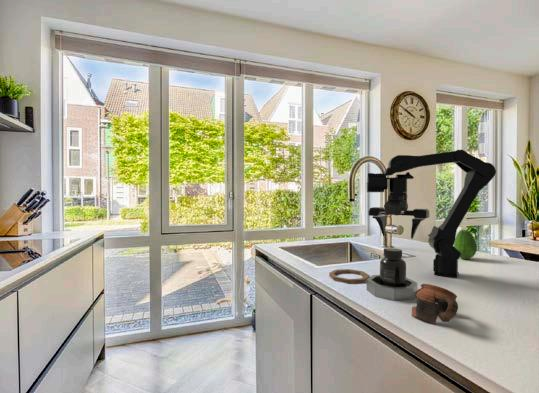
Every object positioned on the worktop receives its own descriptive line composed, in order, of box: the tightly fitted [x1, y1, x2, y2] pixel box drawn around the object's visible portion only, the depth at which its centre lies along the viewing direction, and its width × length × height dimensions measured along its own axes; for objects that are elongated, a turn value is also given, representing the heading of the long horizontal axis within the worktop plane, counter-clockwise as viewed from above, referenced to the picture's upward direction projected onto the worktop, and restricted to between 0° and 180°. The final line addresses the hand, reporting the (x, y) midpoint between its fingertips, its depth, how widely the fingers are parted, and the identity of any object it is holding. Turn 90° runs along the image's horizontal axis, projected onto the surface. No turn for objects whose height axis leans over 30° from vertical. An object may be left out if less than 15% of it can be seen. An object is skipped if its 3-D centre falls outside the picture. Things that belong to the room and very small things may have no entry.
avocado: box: [453, 229, 478, 260], centre depth 122 cm, size 8×8×12 cm
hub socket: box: [366, 274, 418, 301], centre depth 84 cm, size 12×12×3 cm
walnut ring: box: [328, 268, 371, 284], centre depth 98 cm, size 12×12×1 cm
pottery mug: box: [411, 283, 459, 325], centre depth 67 cm, size 12×10×8 cm
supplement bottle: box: [379, 247, 407, 287], centre depth 84 cm, size 7×7×12 cm
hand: (397, 237), depth 104 cm, fingers open, 9 cm apart
